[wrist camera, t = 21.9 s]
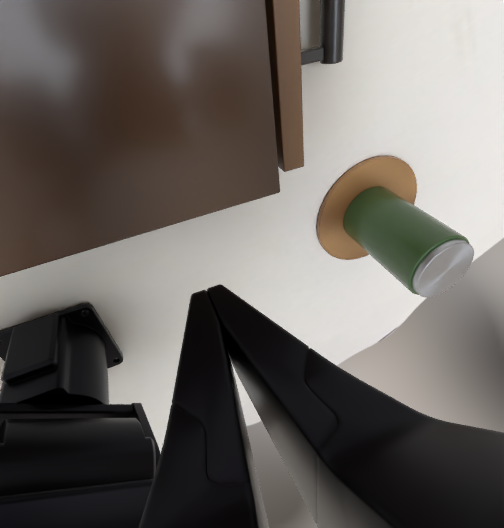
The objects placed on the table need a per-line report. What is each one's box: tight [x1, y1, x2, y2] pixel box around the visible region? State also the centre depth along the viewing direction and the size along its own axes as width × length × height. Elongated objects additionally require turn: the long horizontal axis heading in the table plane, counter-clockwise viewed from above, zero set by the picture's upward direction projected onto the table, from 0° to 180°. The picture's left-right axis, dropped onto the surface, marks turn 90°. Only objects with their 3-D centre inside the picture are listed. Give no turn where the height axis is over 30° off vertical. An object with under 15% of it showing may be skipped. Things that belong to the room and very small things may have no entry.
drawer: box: [265, 0, 345, 172], centre depth 14 cm, size 18×13×3 cm
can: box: [343, 186, 474, 297], centre depth 24 cm, size 5×5×8 cm
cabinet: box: [0, 0, 280, 277], centre depth 14 cm, size 15×14×5 cm
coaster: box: [317, 156, 417, 260], centre depth 28 cm, size 9×9×1 cm
